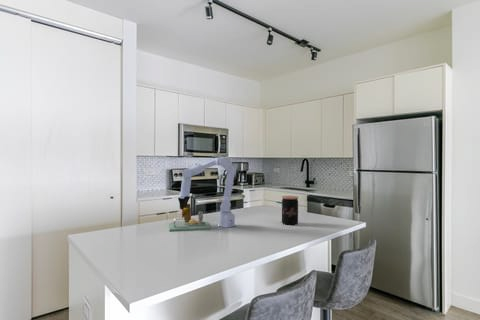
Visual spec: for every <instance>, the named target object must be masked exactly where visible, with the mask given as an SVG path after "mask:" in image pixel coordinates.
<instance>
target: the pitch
mask: <svg viewBox="0 0 480 320" xmlns="http://www.w3.org/2000/svg"><path fill="white" fill-rule="evenodd" d="M168 229H169V232H185V231H186V232H187V231H203V230H204V231H206V230H211V227H210V224H209V223H208V221H203V222H202V224H199V221H196V223H195V224H191V225H190V223H189V222H186V223H185V227H176V228H174V222H170V223H169V228H168Z"/></svg>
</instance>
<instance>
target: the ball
mask: <svg viewBox="0 0 480 320" xmlns="http://www.w3.org/2000/svg"><path fill="white" fill-rule="evenodd" d="M196 222H197V220H196V219H195V218H191V220H190V221H189V223H190V225H191V224H195V223H196Z"/></svg>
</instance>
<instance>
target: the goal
mask: <svg viewBox="0 0 480 320" xmlns="http://www.w3.org/2000/svg"><path fill="white" fill-rule="evenodd" d="M173 223H174V228H176V227H185V220H184V218H182V217H174V218H173Z"/></svg>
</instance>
